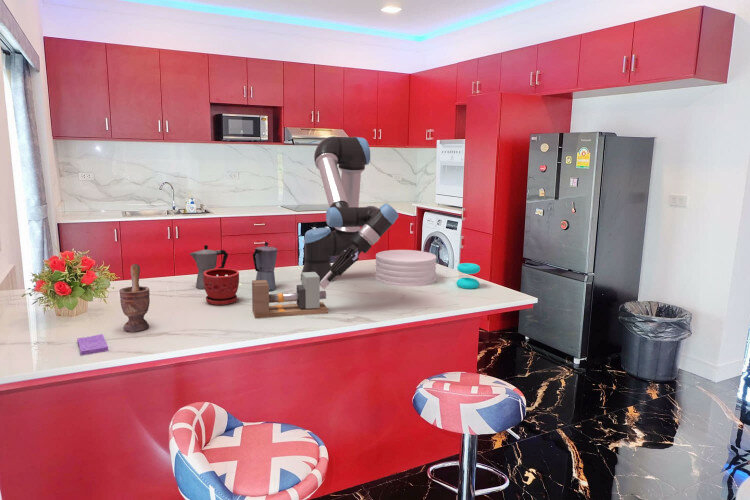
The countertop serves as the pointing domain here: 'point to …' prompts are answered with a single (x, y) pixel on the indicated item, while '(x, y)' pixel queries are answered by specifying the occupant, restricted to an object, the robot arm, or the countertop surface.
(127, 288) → the mortar and pestle
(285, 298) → the pipe rig
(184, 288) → the countertop surface
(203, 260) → the coffeepot
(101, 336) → the sponges
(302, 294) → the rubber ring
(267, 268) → the moka pot
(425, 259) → the plate stack
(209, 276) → the plant pot
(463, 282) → the donuts
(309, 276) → the sleeve
